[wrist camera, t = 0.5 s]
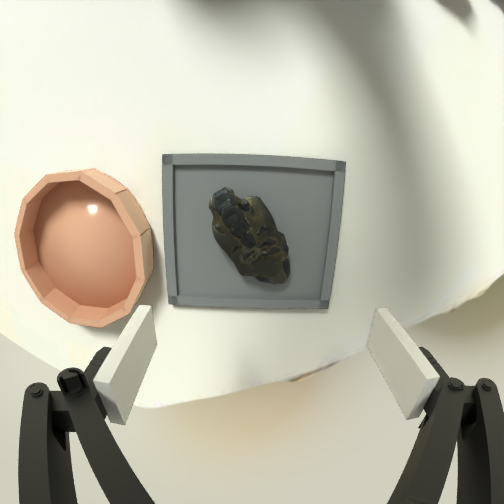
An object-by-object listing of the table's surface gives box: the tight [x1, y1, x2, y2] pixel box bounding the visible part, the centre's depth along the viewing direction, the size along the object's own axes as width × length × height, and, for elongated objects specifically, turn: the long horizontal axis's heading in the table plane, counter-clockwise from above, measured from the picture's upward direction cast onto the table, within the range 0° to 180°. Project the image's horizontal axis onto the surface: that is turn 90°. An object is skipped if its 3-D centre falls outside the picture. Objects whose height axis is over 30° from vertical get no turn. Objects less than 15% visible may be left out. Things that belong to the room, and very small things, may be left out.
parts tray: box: [162, 154, 346, 309], centre depth 34 cm, size 18×20×1 cm
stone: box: [209, 187, 290, 285], centre depth 32 cm, size 7×13×5 cm, turn 33°
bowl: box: [14, 169, 153, 328], centre depth 33 cm, size 20×20×4 cm
